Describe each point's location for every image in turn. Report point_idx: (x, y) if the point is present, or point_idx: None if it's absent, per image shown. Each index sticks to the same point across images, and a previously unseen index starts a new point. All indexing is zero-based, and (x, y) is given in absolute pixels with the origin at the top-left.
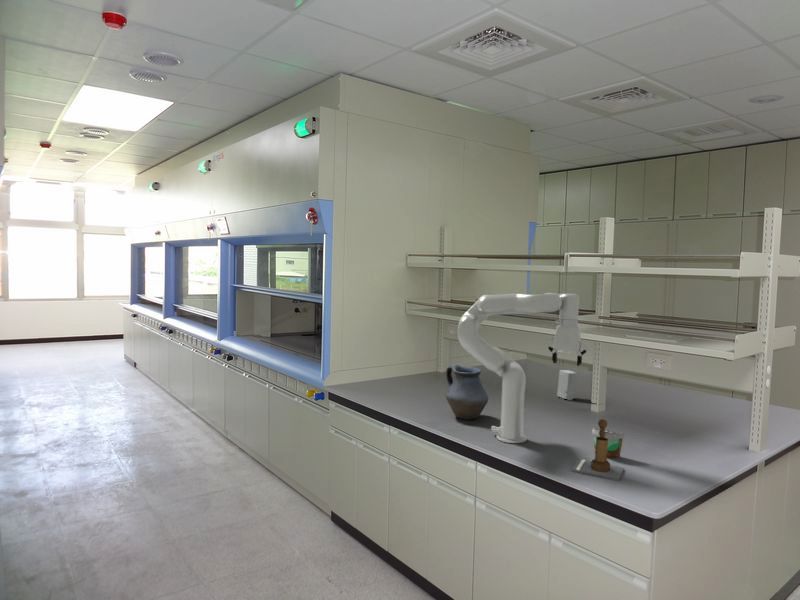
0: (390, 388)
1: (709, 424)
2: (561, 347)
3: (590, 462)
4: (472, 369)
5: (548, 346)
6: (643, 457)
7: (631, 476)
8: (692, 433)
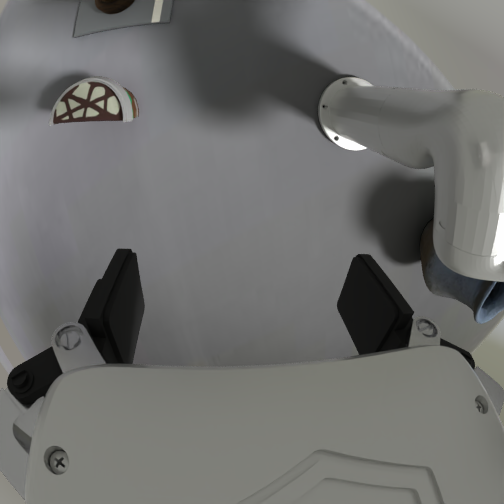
0: None
1: None
2: (393, 389)
3: (139, 17)
4: (483, 314)
5: (477, 372)
6: (48, 146)
7: (64, 16)
8: (47, 333)
